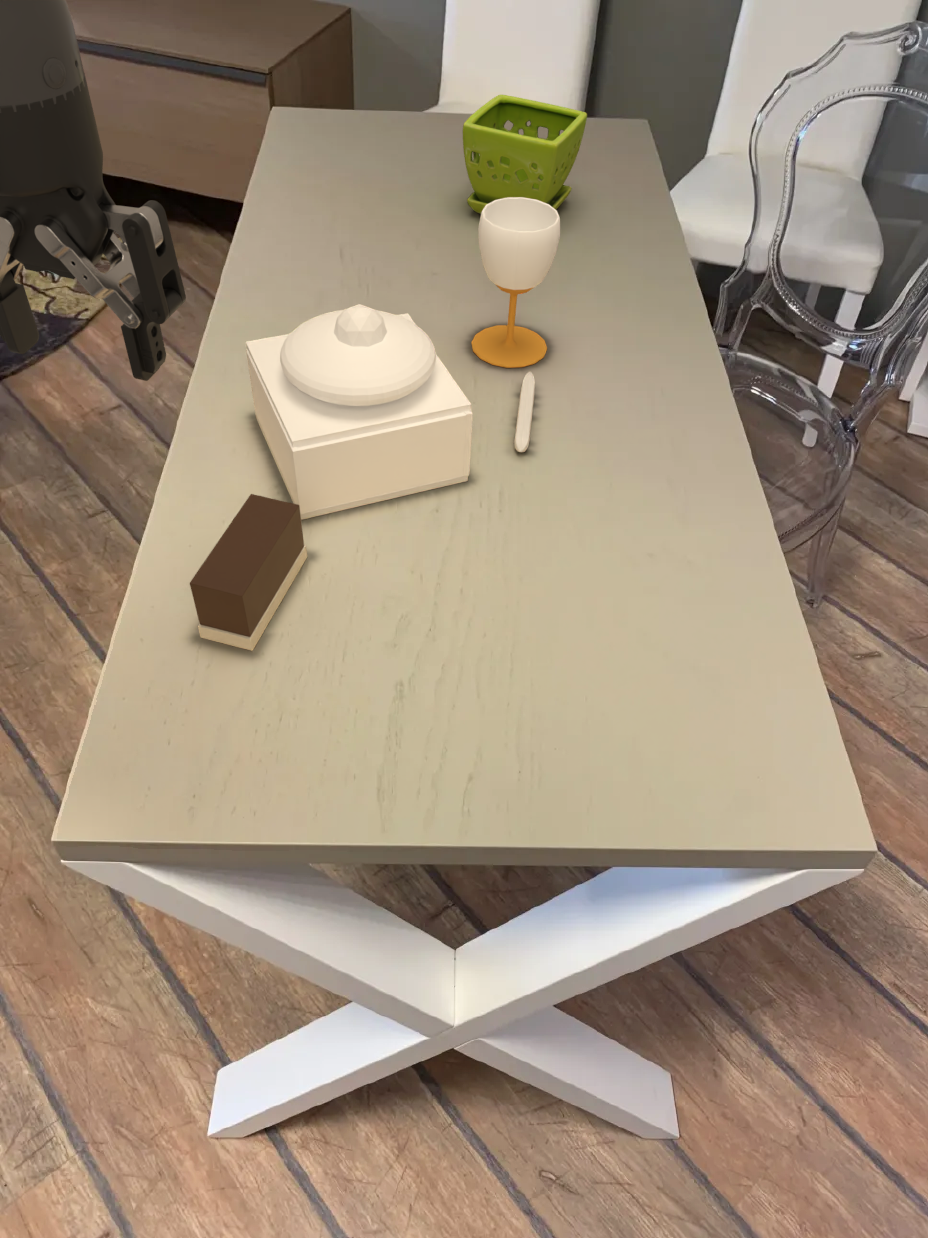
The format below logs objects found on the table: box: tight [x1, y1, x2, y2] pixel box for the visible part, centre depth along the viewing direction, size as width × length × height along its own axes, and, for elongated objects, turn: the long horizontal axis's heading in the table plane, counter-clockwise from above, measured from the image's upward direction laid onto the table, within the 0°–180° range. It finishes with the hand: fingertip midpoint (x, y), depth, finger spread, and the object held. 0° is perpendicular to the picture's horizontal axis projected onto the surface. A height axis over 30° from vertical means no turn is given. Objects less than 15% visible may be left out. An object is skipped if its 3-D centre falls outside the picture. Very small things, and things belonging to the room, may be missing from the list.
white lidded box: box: [245, 303, 474, 521], centre depth 93 cm, size 18×18×16 cm
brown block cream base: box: [189, 493, 308, 651], centre depth 81 cm, size 12×5×6 cm, turn 164°
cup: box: [470, 197, 561, 369], centre depth 106 cm, size 9×9×16 cm
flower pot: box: [462, 94, 588, 215], centre depth 133 cm, size 14×14×13 cm
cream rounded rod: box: [513, 371, 536, 453], centre depth 103 cm, size 2×14×2 cm, turn 173°
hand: (86, 359), depth 58 cm, fingers open, 8 cm apart
